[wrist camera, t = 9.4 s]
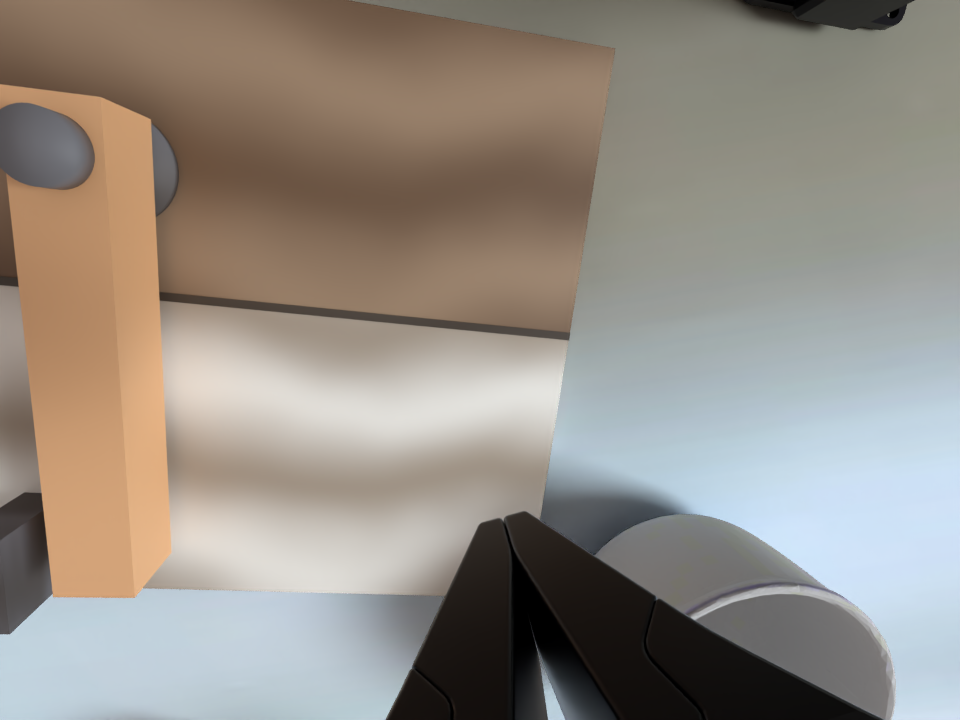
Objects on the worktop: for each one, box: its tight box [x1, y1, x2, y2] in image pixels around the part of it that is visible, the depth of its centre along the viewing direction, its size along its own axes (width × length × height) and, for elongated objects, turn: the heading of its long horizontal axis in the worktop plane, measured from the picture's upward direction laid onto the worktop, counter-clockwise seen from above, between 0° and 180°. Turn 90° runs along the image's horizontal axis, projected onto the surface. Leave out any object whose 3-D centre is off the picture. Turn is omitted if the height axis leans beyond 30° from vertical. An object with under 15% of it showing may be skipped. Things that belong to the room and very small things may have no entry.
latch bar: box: [0, 84, 172, 598], centre depth 16 cm, size 16×2×3 cm, turn 174°
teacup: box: [595, 514, 896, 720], centre depth 21 cm, size 14×11×8 cm
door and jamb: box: [0, 0, 615, 634], centre depth 17 cm, size 22×23×4 cm
